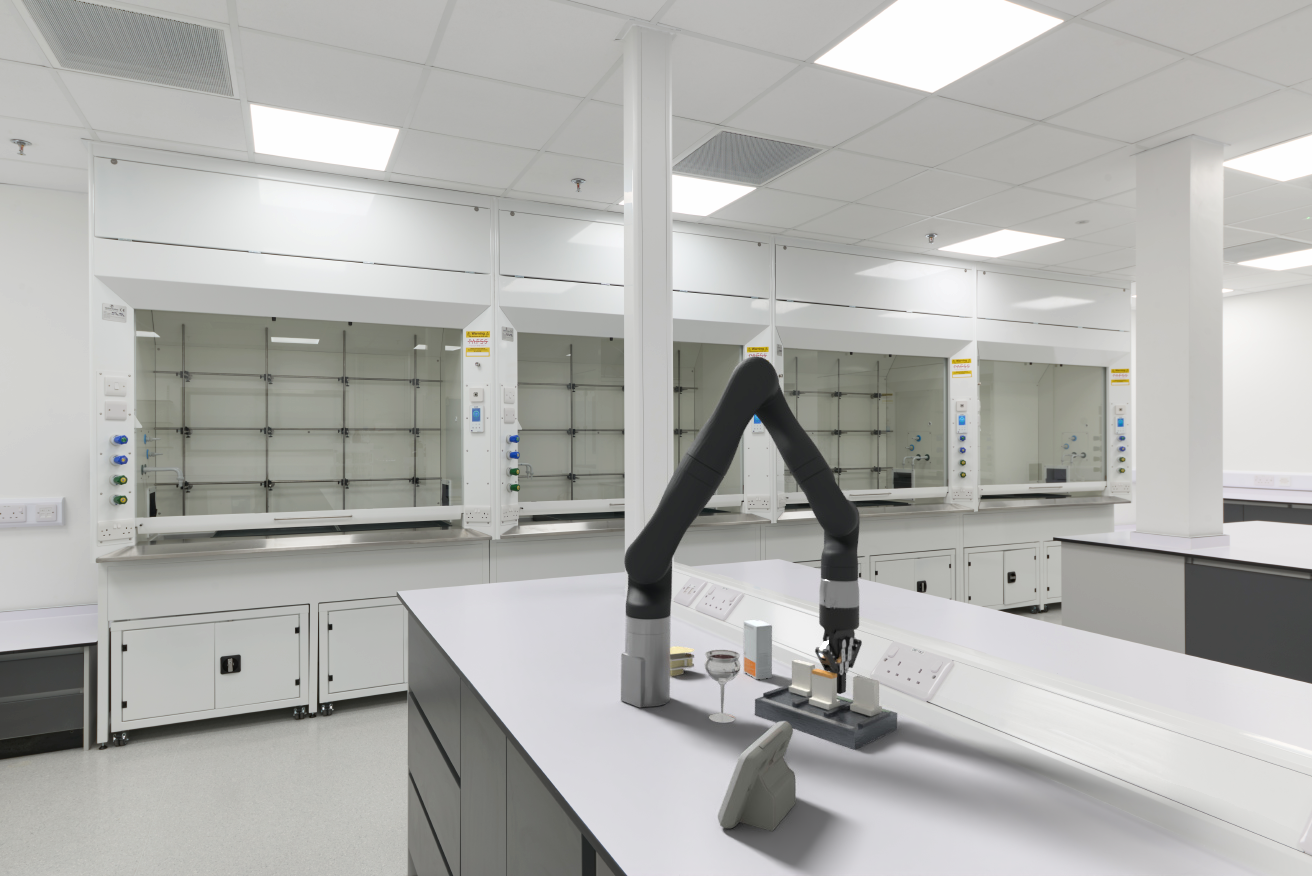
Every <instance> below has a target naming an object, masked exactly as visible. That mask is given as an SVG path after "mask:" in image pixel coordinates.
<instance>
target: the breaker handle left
mask: <svg viewBox="0 0 1312 876" xmlns="http://www.w3.org/2000/svg"><path fill="white" fill-rule="evenodd" d="M814 669H816V664H815V663H812V662H808V661H803V660H799V659H795V660H791V684H792V685H791V686H789V692H792V693H796V694H799V695H802V696H806V697H808V696H811V695H812V670H814Z"/></svg>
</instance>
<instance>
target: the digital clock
mask: <svg viewBox="0 0 1312 876" xmlns="http://www.w3.org/2000/svg"><path fill="white" fill-rule="evenodd" d="M793 734H794V728H792V727H791V725H790V724H789V723H788V722H787V721H781V722H775V724H773V725H772V726H771V727H770V728H769V729H768V730H767V731H766V732H764V733H763V734H762V735H761V736H760V737H759V738H757V739H756V740H755V741H754V742H753V743H752V744H751V745H749V746H748V747H747V748H746V749H745V750H744V751H743V752H742V753H741V754H740V756H739V758H738V761H736V765H735V767H734V770H733V773H732V776H731V778H730V781H729V784H728V787H727V789H726V791H725V795H724V797H723V799H722V803H721V805H720V808H719V811H718V814H717V820H718V823H719V825H720V826H721V828H724V829H733V828H735V827H736V826H737V825H738V824H739V823H742V824H746V825H749V826H753V827H756V828H760V829H763V830H766V831H767V830H768V831H770V832H771V831H772V832H773V831H774V830H775V829H776V828H777V827H778V825H779V824H780V823H781V821H782V820H783V819H784V818H785V817H786V816H787V815H788V813H789V812H790V811H791V809H792V808H793V807H794V806H795V805H796V799H797V798H796V797H797V796H796V790H797V789H796V787H797V786H796V783H797V782H796V773H795V772H794V770H792V769H791V768H790V766H789V765H788V763H787V762H786V759H785V755H786V752H787V750H788V747H789V745H790V741H791V739H792V736H793Z"/></svg>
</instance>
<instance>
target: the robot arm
mask: <svg viewBox="0 0 1312 876" xmlns="http://www.w3.org/2000/svg"><path fill="white" fill-rule="evenodd" d="M754 416H756V417H757V418H758V420H759V421H760V422H761V424H762V425H763V427H764V428H765V429H766V430H767V432H768V434H769V436H770V437H771V439H772V440H773V443H774V444H775V446H776V449H777V451H778V452H779V455H781V459H782V460H783V462H784V464H785V466H786V467H787V468H788V470H789V472H790V473H791V475H792V477H793V479H794V480H795V482H796V484H797V485H798V487H799V488H800V489H801V491H802V492H803V494H804V495H805V497H806V499H807V502H808V504H809V507H810V508H811V510H812V513H813V514H814V516H815V519H816V521H817V522H818V524H819V525H820V527H821V528H822V529H823V549H822V552H821V558H820V582H819V583H820V584H819V598H818V599H819V601H818V602H819V608H818V609H819V611H818V612H819V613H818V614H819V619H818V623H819V625H820V627H822V628H823V630H824V632H823V637H822V642H823V643H822V645H821V646H820V647H818V646H817V647H815V650H814V652H815V655H816V657H817V658H818V660H819V662H820V665H821V666H822V668H823V670H825V671H828V672H832V673H836V674H837V695H842V694H844V693H846V691H847V674H848V673H849V669H853V667H854V665H855V664H856V663H855V662H856V660H857V657H858V655H859V652H860V650H861V647H862V645H863V643H862V639H857V638H856V637H855V636H856V633H855V630H857V629H858V628H859V627H860V588H859V587H860V586H859V560H858V556H859V555H858V549H859V548H858V547H859V546H858V544H859V535H860V519H861V517H860V511H859V509H858V507H857V506H856V504H855V503H854V502H853V501H851V500H849V499H847V497H846V496H845V494H844V492H843V491H842V489H841V488H840V486H839V485H838V483H837V481H836V477H835V474H834V473H833V470H832V469H831V467H830V466H829V464H828V462H827V460H826V459H825V457H824V456H823V454H822V453H821V451H820V449H819V448H818V446H817V445H816V444H815V442H814V441H813V439H812V438H811V437H810V436H809V435H808V433H807V432H806V431H805V429H804V428H803V426H802V425H801V424H800V422H799V421H798V420H797V418H796V416H795V415H794V413H793V412H792V410H791V407H790V406H789V404H788V402H787V398H785V395H784V392H783V389H782V387H781V385H780V379H779V375H778V373H777V371H776V368H775V366H774V365H773V364H772V363H771V362H770V361H769V360H767V359H766V358H764V357H761V356H751V357H747V358H745V359H743V360H742V361H740V362H738V364H737V365H736V366H735V368H734V369H733V371H732V372H731V375H730V377H729V379H728V381H727V383H726V386H725V388H724V390H723V392H722V394H721V396H720V398H719V400H718V403H717V404H716V406H715V408H714V410H713V412H712V413H711V415H710V416H709V417H708V419H707V421H706V422H705V423H704V424H703V426H702V427H701V428H700V430H699V432H698V433H697V435H696V436H695V438H694V439H693V441H692V442H691V444H690V446H689V447H688V449H687V450H686V452H685V453H684V455H683V456H682V458H681V460H680V462H679V463H678V465H677V467H676V468H675V470H674V473H673V475H672V477H670V480H669V482H668V484H667V485H666V488H665V490H664V492H663V494H662V496H661V499H660V500H659V503H658V506H657V508H656V510H655V511H654V513H653V514H652V516H651V517H650V518H649V521H648V522H647V523H646V525H645V526H644V528H643V529H642V530H641V532H639V533H638V536H636V538H635V539H634V540H633V542H632V543H630V545H629V546H628V547H627V549H626V551H625V554H624V568H625V571H626V574H627V590H626V591H627V592H626V593H627V594H626V600H625V633H624V634H625V636H624V637H625V638H624V639H625V640H624V642H625V643H624V652H622V653H621V657H620V661H621V663H620V667H621V668H620V701H622V702H624V703H627V704H629V705H632V706H635V707H638V708H639V709H640V708H645V707H647V708H648V707H657V706H658V707H659V706H663V705H665V704H667V703H669V701H670V699H671V676H670V647H671V625H672V624H671V613H672V612H671V607H672V596H673V595H672V594H673V593H672V592H673V590H672V589H673V588H672V587H673V558H674V555H675V553H676V551H677V549H678V547H679V545H680V543H681V541H682V539H683V538H684V536H685V534H686V532H687V531H688V529H689V528H690V526H691V525H692V524H693V522H694V521H695V520H696V519H697V517H698V516H699V515H700V514H701V512H702V511H703V510H704V509H705V507H706V506H707V504H709V502H710V500H711V499H712V498H713V496H714V494H715V493H716V491H717V490H718V489H719V487H720V486H721V484H722V482H723V480H724V479H725V477H726V475H727V473H728V471H729V469H730V468H731V466H732V463H733V461H734V458H735V456H736V453H737V450H738V448H739V445H740V442H741V439H742V436H743V435H744V432H745V431H746V429H747V427H748V425H749V423H750V421H752V419H753V417H754Z"/></svg>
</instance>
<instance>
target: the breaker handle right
mask: <svg viewBox="0 0 1312 876" xmlns="http://www.w3.org/2000/svg"><path fill="white" fill-rule="evenodd" d="M852 700H853V704H850V710H852V711H855V712H858V713H862V714H865V715H868V716H874V715H876V714H878V713H881V712H882V709H883V706H881V705H880V681H879V680H875V679H873V678H869V677H865V676H860V675H855V676H852Z"/></svg>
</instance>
